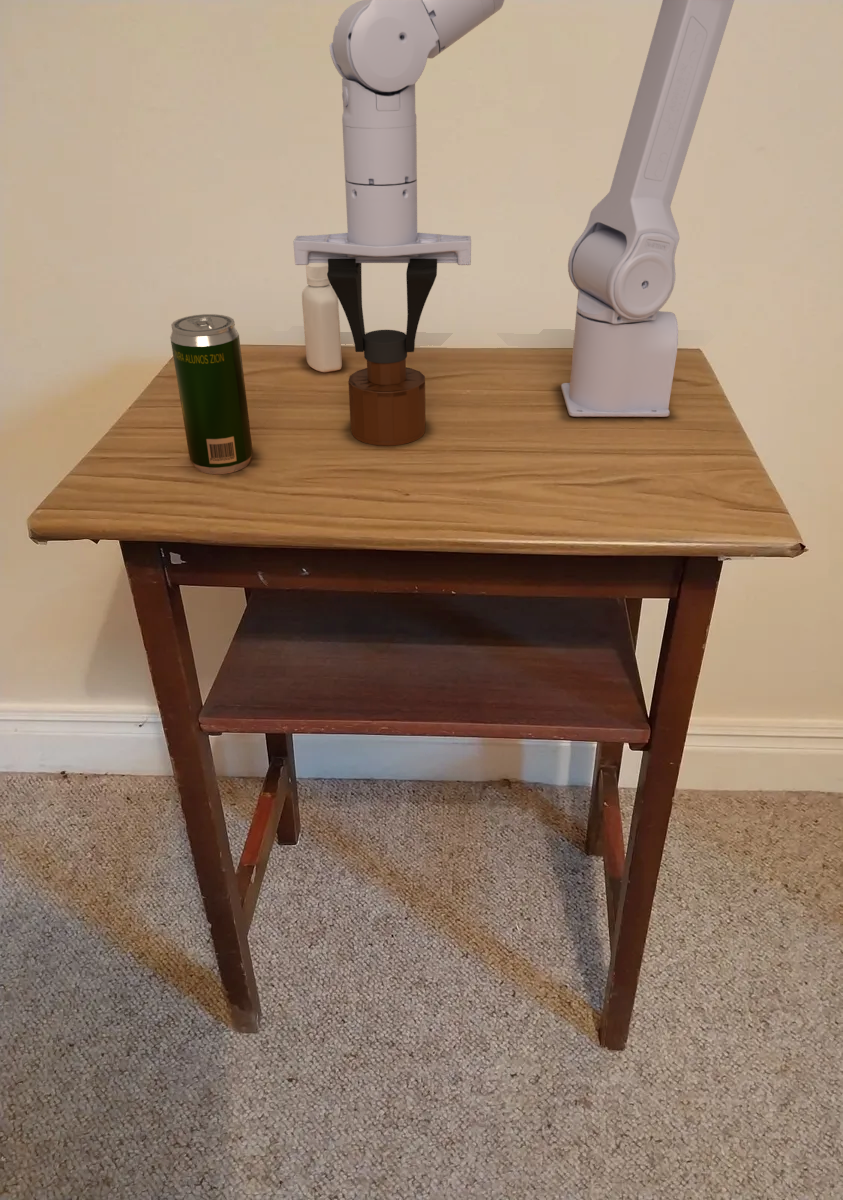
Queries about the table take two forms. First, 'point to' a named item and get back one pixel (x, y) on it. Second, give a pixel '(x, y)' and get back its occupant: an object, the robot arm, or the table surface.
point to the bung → (385, 346)
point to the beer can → (212, 392)
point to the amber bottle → (387, 404)
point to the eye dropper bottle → (321, 320)
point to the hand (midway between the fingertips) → (385, 348)
